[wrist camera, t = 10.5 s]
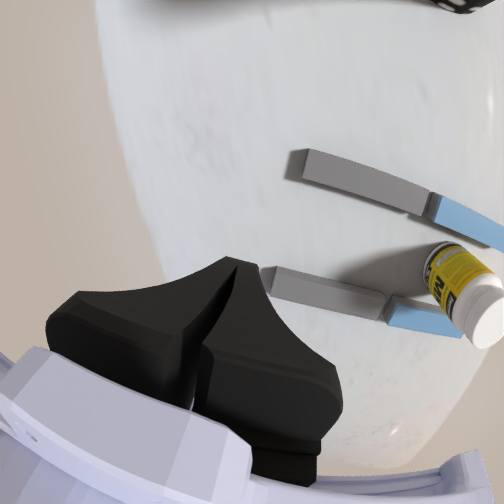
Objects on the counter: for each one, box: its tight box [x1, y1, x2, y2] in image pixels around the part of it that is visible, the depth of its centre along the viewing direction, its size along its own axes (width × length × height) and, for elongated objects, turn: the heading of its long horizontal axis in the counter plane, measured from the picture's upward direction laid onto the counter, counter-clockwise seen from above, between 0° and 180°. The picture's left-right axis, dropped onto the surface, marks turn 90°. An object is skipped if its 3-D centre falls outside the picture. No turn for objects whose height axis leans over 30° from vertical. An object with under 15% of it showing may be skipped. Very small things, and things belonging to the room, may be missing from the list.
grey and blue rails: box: [270, 148, 504, 339], centre depth 19 cm, size 11×19×2 cm, turn 77°
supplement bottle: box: [423, 242, 504, 349], centre depth 16 cm, size 5×5×8 cm
